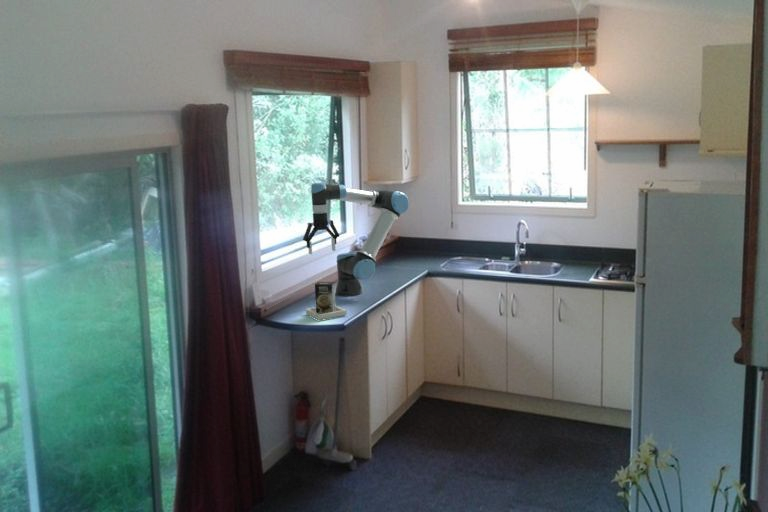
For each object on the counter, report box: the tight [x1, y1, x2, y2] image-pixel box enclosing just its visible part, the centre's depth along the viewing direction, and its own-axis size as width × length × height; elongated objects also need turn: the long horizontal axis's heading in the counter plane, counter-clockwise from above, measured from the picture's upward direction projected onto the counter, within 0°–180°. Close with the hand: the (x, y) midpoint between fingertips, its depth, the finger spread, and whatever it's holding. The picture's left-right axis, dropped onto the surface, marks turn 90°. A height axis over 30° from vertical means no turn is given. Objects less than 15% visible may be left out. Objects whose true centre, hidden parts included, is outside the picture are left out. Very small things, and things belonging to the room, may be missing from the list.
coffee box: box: [314, 281, 337, 314], centre depth 377 cm, size 9×6×16 cm
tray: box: [305, 305, 347, 321], centre depth 378 cm, size 15×15×3 cm
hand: (322, 252), depth 394 cm, fingers open, 13 cm apart
